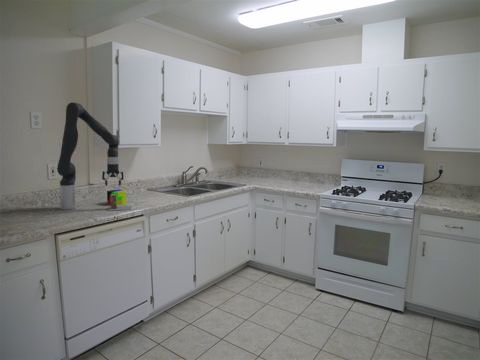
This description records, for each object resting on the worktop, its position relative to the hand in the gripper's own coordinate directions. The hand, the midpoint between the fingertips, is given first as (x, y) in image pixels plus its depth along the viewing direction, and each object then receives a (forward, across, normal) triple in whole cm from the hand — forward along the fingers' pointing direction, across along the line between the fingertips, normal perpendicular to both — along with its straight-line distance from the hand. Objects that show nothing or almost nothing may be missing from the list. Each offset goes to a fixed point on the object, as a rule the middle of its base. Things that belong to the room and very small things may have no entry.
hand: (113, 185), depth 235 cm
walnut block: (+17, 0, 0) cm, 17 cm away
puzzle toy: (+18, +1, +18) cm, 25 cm away
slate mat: (+17, +4, 0) cm, 18 cm away
